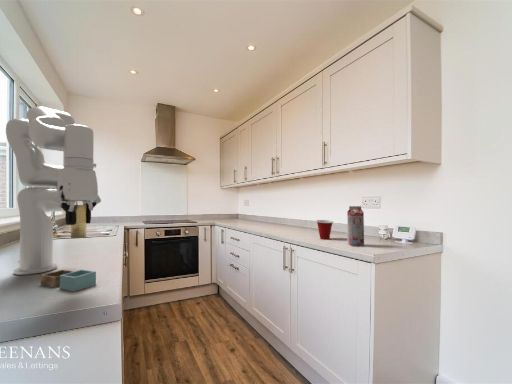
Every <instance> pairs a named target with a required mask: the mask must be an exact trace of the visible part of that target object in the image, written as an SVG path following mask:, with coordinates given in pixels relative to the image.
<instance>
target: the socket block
mask: <svg viewBox="0 0 512 384" xmlns="http://www.w3.org/2000/svg"><path fill="white" fill-rule="evenodd" d="M74 271H75V270H68V269H61V270H57V271H53V272H48V273H44V274H41V275H40V285H41V286H46V287H50V288H57V287H60V275H63V274H67V273H71V272H74Z"/></svg>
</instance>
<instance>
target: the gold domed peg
mask: <svg viewBox="0 0 512 384" xmlns="http://www.w3.org/2000/svg"><path fill="white" fill-rule="evenodd" d="M73 211H75V224H74V225H70V239H82V238H86V237H87V223H86V213H87V205H83V204H74V209H73Z"/></svg>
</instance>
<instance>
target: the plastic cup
mask: <svg viewBox="0 0 512 384" xmlns="http://www.w3.org/2000/svg"><path fill="white" fill-rule="evenodd" d="M316 223H317V228H318V229H317V230H318V234H319V238H320V240H330V237H331V231H332V226H333V224H334V221H333V220H329V219H327V220H326V219H317V220H316Z"/></svg>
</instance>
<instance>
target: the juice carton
mask: <svg viewBox="0 0 512 384" xmlns="http://www.w3.org/2000/svg"><path fill="white" fill-rule="evenodd" d="M346 215H347V245H349V246H350V247H365V220H364V218H365V216H364V211H363V209H362V205H357V206H356V205H354V206H353V205H349V206H348V210H347V214H346Z"/></svg>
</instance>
